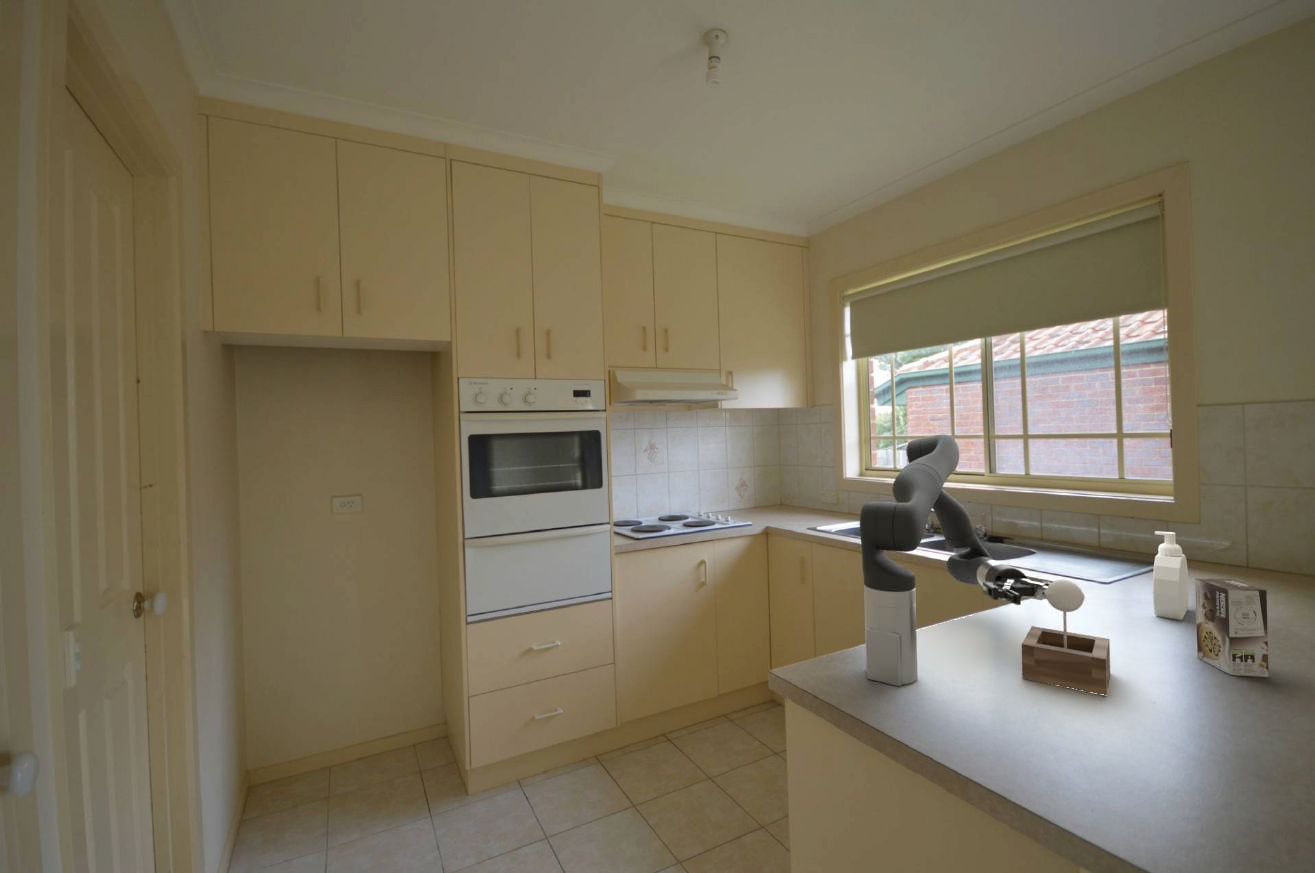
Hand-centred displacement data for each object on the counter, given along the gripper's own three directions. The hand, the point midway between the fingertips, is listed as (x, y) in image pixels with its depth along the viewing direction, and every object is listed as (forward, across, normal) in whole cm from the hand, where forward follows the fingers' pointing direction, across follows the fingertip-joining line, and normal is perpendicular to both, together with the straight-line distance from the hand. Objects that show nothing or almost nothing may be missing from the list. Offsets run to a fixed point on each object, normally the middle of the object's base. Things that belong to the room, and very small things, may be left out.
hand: (1041, 600), depth 118 cm
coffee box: (+3, +33, +12) cm, 35 cm away
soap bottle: (-31, +47, +12) cm, 58 cm away
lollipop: (+8, 0, +9) cm, 12 cm away
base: (+8, 0, +12) cm, 14 cm away
